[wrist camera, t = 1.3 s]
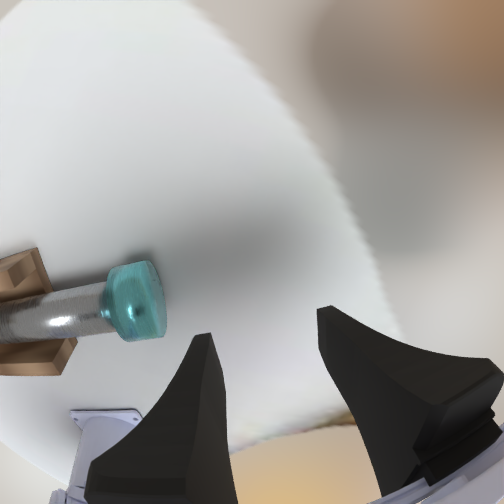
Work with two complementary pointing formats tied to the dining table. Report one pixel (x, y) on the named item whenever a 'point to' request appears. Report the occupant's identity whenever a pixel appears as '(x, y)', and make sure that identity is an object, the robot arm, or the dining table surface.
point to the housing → (38, 352)
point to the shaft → (91, 309)
